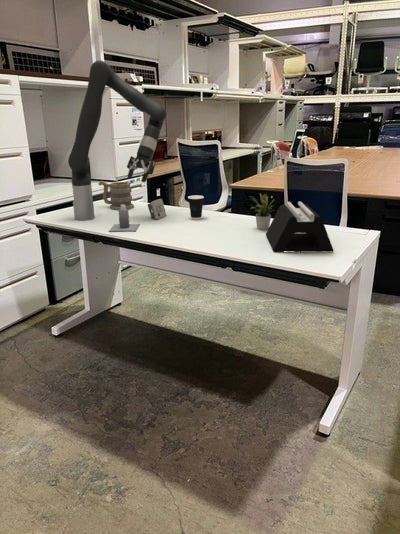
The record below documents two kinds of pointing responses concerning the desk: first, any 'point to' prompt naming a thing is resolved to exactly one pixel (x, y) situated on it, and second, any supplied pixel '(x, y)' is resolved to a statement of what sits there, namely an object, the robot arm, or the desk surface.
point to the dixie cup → (196, 206)
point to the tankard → (118, 195)
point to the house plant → (263, 213)
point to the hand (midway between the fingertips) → (136, 179)
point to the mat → (117, 228)
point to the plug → (123, 217)
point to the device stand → (298, 230)
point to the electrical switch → (157, 209)
